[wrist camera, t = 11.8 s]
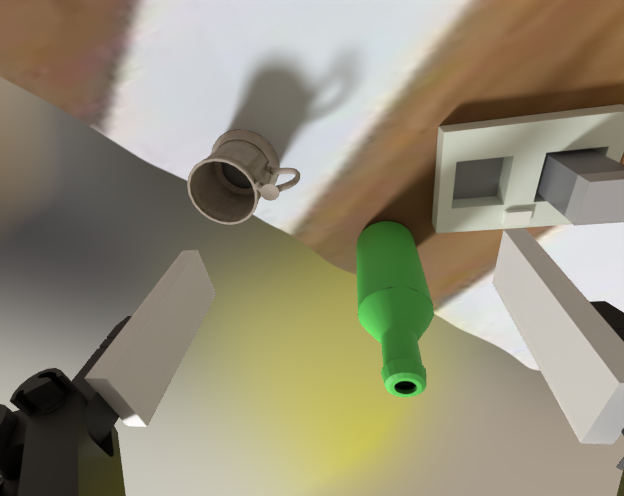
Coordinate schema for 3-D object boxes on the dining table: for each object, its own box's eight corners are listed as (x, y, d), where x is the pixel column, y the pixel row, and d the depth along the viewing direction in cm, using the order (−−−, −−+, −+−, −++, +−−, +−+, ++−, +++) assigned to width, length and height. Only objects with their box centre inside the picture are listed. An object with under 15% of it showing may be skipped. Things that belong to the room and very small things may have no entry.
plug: (541, 150, 40) (589, 182, 32) (586, 146, 39) (648, 177, 31) (531, 187, 43) (574, 225, 34) (573, 184, 42) (627, 221, 34)
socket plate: (438, 126, 40) (445, 134, 37) (621, 104, 36) (646, 111, 33) (431, 222, 48) (437, 236, 44) (582, 211, 44) (599, 225, 41)
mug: (226, 201, 49) (195, 244, 39) (200, 138, 44) (156, 169, 34) (316, 185, 46) (307, 227, 36) (300, 115, 41) (283, 142, 31)
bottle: (351, 223, 49) (350, 362, 29) (409, 213, 47) (453, 354, 27) (362, 267, 54) (367, 414, 33) (415, 260, 52) (456, 411, 31)
